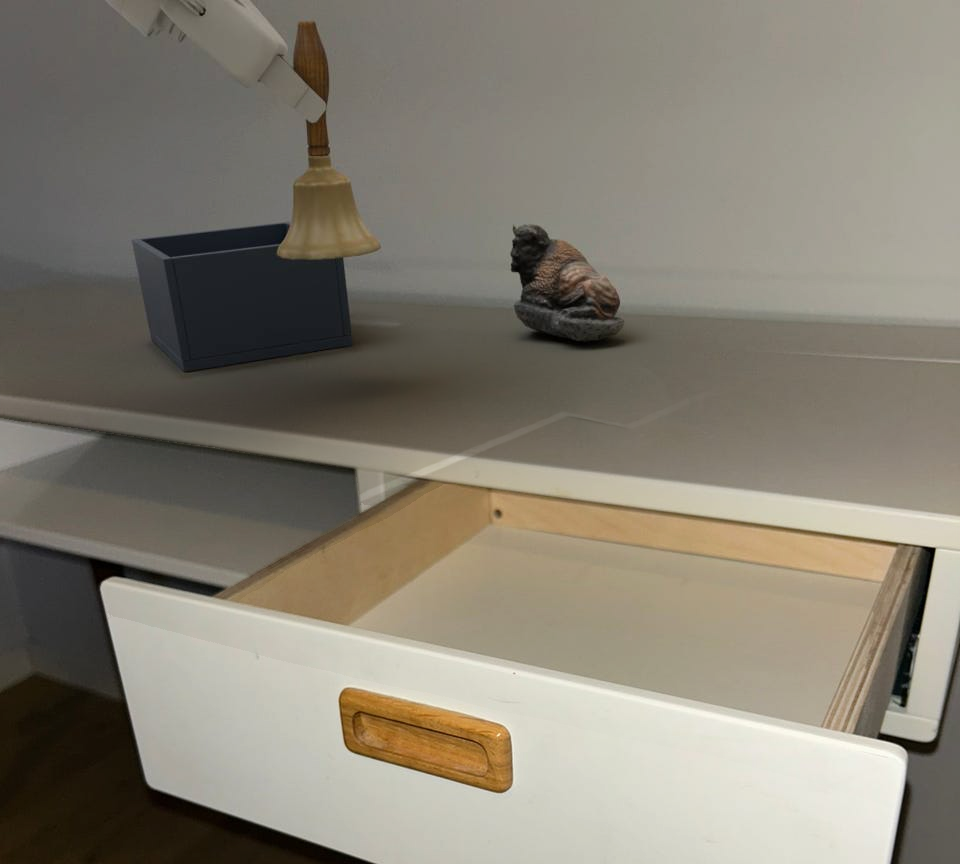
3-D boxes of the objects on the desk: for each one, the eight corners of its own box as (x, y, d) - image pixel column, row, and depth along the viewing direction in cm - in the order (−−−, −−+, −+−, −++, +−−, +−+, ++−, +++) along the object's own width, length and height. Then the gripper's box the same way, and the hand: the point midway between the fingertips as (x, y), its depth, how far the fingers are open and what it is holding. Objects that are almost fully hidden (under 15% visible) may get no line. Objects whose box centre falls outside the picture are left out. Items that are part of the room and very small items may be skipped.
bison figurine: (637, 337, 101) (638, 224, 96) (590, 353, 97) (590, 235, 92) (540, 324, 108) (537, 219, 104) (493, 338, 104) (488, 229, 99)
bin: (184, 372, 99) (163, 259, 94) (151, 339, 112) (131, 239, 107) (353, 345, 105) (341, 237, 100) (302, 317, 118) (290, 221, 113)
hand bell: (333, 240, 90) (308, 23, 83) (402, 247, 85) (383, 16, 78) (255, 256, 85) (221, 26, 77) (325, 264, 80) (296, 19, 72)
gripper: (171, -89, 65) (349, 81, 71) (206, -58, 83) (346, 77, 89) (113, 0, 67) (291, 159, 72) (159, 12, 85) (299, 139, 90)
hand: (321, 114), depth 81 cm, fingers closed on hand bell, 2 cm apart
